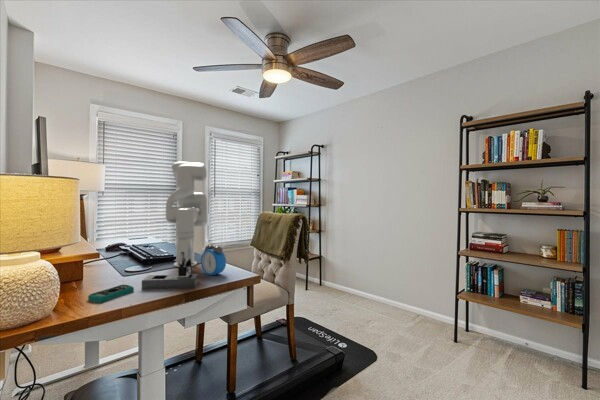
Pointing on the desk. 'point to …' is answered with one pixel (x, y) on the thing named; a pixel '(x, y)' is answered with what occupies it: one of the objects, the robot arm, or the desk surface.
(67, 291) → the desk surface
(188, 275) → the white green box
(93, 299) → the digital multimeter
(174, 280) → the rail
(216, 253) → the alarm clock
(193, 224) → the robot arm
